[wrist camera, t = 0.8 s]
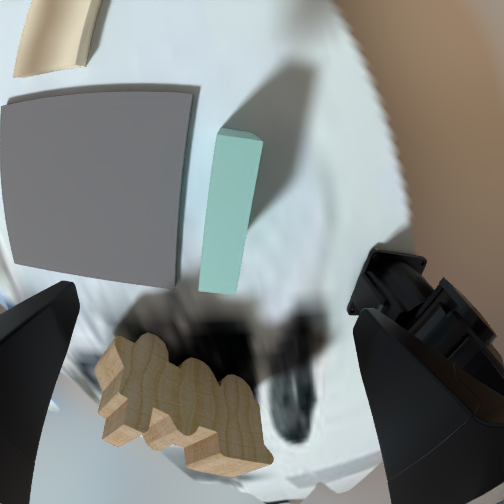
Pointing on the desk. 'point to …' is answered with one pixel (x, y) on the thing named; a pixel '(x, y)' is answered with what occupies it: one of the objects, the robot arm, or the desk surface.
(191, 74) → the desk surface
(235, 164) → the teal slab
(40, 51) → the birch slab
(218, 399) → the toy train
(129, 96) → the mat
